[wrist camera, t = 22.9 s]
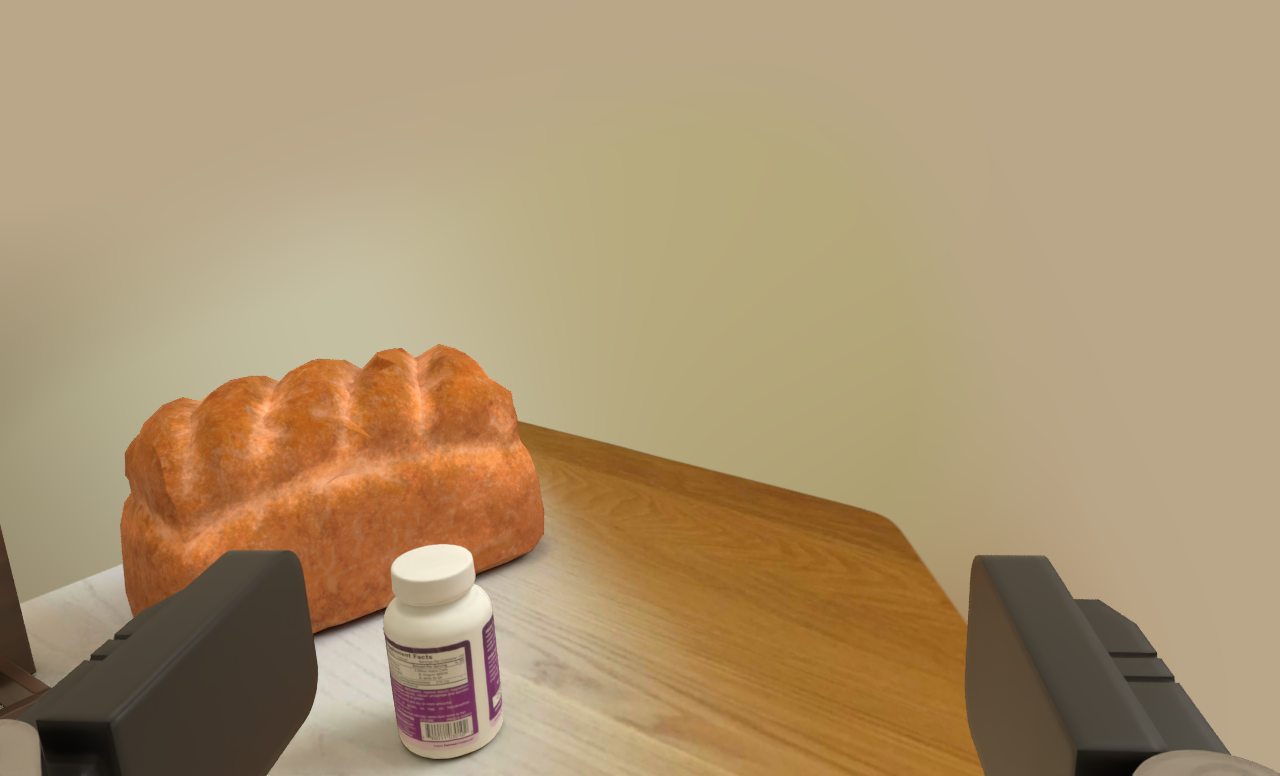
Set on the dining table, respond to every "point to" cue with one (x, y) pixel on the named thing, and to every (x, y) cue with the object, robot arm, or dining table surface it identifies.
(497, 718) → the pill bottle
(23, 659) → the wooden display stand
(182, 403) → the bread
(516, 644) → the dining table surface
